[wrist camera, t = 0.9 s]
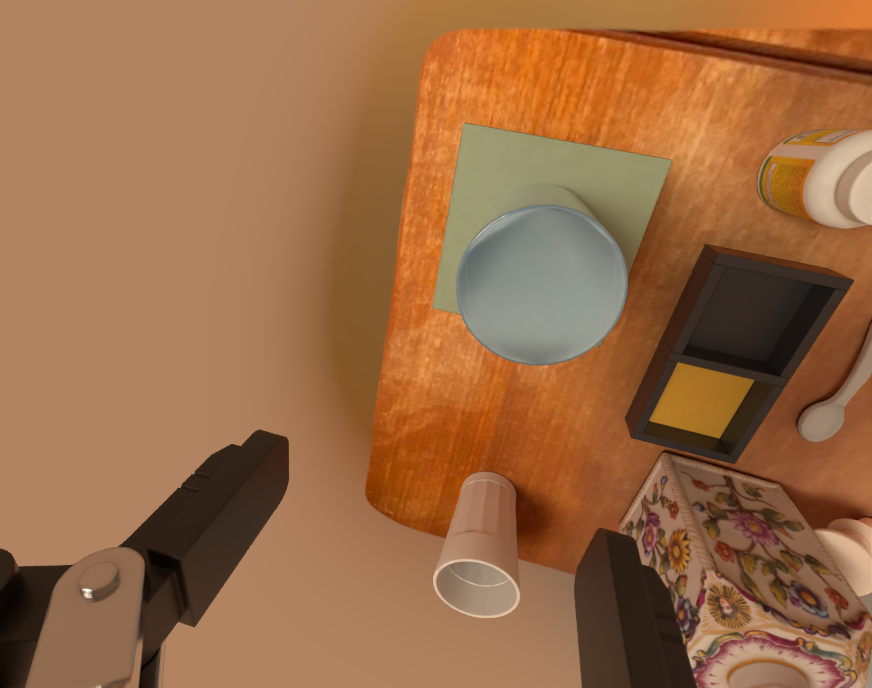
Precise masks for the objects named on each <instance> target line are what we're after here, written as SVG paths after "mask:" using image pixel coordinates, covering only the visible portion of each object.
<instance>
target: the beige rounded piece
mask: <svg viewBox="0 0 872 688" xmlns="http://www.w3.org/2000/svg"><path fill="white" fill-rule="evenodd" d="M812 530H813V531H814V533H815V534H816V536H817V537H818V539H819V540H820V541H821V543H822V545H823V546H824V547H825V549H826V551H827V552H828V553H829V555H830V556H831V558H832V559H833V560H834V562H835V563H836V565H837V567H838V568H839V570H840V571H841V573H842V574H843V575H844V576H845V578H846V580H847V581H848V583H849V584H850V585H851V587H852V588H853V590H854V591H855V593H856V594H857V595H858V596H863V595H866V594H869V593H871V592H872V519H871V518H861V519H859V520H858V521H857V520H853V519H845V518H843V519H837V520H835V521H832V522H831V523H830V524H829V525H828V527H827V529H824V528H818V529H812Z"/></svg>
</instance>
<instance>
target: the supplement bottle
mask: <svg viewBox="0 0 872 688" xmlns="http://www.w3.org/2000/svg"><path fill="white" fill-rule="evenodd" d="M757 189H758V193H759V195H760V197H761V199H762V200H763V201H764V202H765V203H766V204H767V205H768V206H769V207H771V208H773V209H775V210H778V211H781V212H784V213H787V214H790V215H793V216H796V217H800V218H803V219H806V220H809V221H812V222H815V223H818V224H822V225H825V226H828V227H833V228H841V229H849V228H857V227H862V226H865V225H872V129H846V130H810V131H805V132H801V133H798V134H795V135H793V136H791V137H789V138H787V139H785V140H784V141H782V142H781V143H779V144H778V145H777V146H776V147H775V148H774V149H773V150H772V151H771V152H770V153H769V154H768V155H767V157H766V158H765V160H764V161H763V163H762V165H761V168H760V171H759V174H758V179H757Z"/></svg>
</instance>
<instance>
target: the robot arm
mask: <svg viewBox="0 0 872 688" xmlns="http://www.w3.org/2000/svg"><path fill="white" fill-rule="evenodd" d="M288 481H289V442H288V439H287V437H284V436H280V435H277V434H273V433H270V432H266V431H263V430H257V431H255V432H254V433H253V434H252V435H251V436H250V437H249V438H248V439H247V440H246V441H245V442H244V443H243V444H242V446H238V445H234V444H231V445H229V446H227V447H225V448H223V449H221V450H220V451H218V452H216V453H214V454H212V455H211V456H210V457H209V458H208V459H207V460H206V461H205V462H204V463H203V464H202V465H201V466H200V467H199V468H198V469H197V470H196V471H195V473H194V475H193V474H192V475H191V476H190V477H189V478H188V479H187V480H186V481H185V482H184V483H183V484H182V486H181V488H178V489H177V490H176V491H175V492H174V493H173V494H172V495H171V496H170V497H169V498H168V499H167V500H166V501H165V502H164V503H163V504H162V505H161V506H160V507H159V508H158V509H157V510H156V511H155V512H154V513H153V514H152V515H151V516H150V517H149V518H148V519H147V520H146V521H145V522H144V523H143V524H142V525H141V526H140V527H139V528H138V529H137V530H136V531H135V532H134V533H133V534H132V535H131V536H130V537H129V538H128V539H127V540H126V541H124V542H123V543H122V544H121V545H119V546H118V547H113V548H108V549H104V550H101V551H98V552H95V553H93V554H90V555H88V556H86V557H85V558H83V559H81V560H80V561H78V562H77V563H75V564H74V565H60V566H22V567H18V565H17V563H16V561H15V559H14V558H13V556H12V554H11V553H9V552H8V551H6V550H3V549H0V688H163V674H164V659H165V639H166V638H167V636H168V635H169V633H170V632H171V631H172V629H173V628H174V627H175V625H176V624H177V623H178V622H180V623H184V624H186V625H189V626H192V627H195V626H196V625H197V623H198V622H199V620H200V619H201V617H202V616H203V615H204V613H205V612H206V610H207V609H208V607H209V606H210V604H211V603H212V601H213V600H214V598H215V597H216V595H217V594H218V593H219V591H220V590H221V588H222V587H223V585H224V584H225V582H226V581H227V580H228V578H229V577H230V575H231V574H232V572H233V571H234V569H235V568H236V566H237V565H238V563H239V562H240V561H241V559H242V557H243V556H244V555H245V553H246V552H247V550H248V549H249V547H250V546H251V545H252V543H253V542H254V540H255V538H256V537H257V536H258V534H259V533H260V531H261V530H262V528H263V527H264V526H265V524H266V523H267V521H268V520H269V518H270V516H271V515H272V514H273V512H274V511H275V509H276V508H277V507H278V505H279V504H280V502H281V500H282V499H283V496H284V494H285V492H286V489H287V486H288ZM574 594H575V608H576V619H577V632H578V645H579V656H580V670H581V681H582V688H697V685H696V681H695V678H694V674H693V671H692V667H691V664H690V660H689V657H688V653H687V650H686V646H685V645H683V640H684V639H683V636H682V633H681V629H680V626H679V623H677V615H676V612H675V608H674V605H673V601H672V598H671V594H670V592H669V590H668V588H667V587H666V585H665V584H664V582H663V581H662V579H661V577H660V576H659V574H658V573H657V571H656V570H655V568H653V567H650V566H646V565H643V564H642V563H641V558H640V554H639V550H638V546H637V543H636V540H635V539H634V538H633V537H632V536H628V535H625V534H621V533H618V532H614V531H611V530H607V529H604V528H599V529H598V530H597V531H596V533H595V535H594V537H593V539H592V540H591V542H590V544H589V546H588V548H587V550H586V552H585V554H584V556H583V558H582V560H581V561H580V563H579V565H578V568H577V571H576V576H575V585H574Z"/></svg>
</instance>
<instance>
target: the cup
mask: <svg viewBox="0 0 872 688" xmlns="http://www.w3.org/2000/svg"><path fill="white" fill-rule="evenodd" d="M433 584H434V588H435V590H436V592H437V594H438V596H439V597H440V598H441V599H442V600H443V601H444V602H445V603H446V604H448V605H449V606H450V607H452V608H454V609H455V610H457V611H459V612H461V613H464V614H467V615H470V616H474V617H480V618H494V617H500V616H503V615H506V614H508V613H510V612H511V611H513V610H514V609H515V608H516V607H517V605H518V603H519V600H520V585H519V568H518V556H517V531H516V491H515V488H514V486H513V485H512V483H511V482H510V481H509V480H507V479H506V478H505V477H503V476H501V475H499V474H496V473H493V472H477V473H474V474H472V475H470V476H468V477H467V478H466V479H465V481H464V482H463V484H462V489H461V493H460V497H459V500H458V503H457V506H456V509H455V512H454V515H453V519H452V522H451V525H450V528H449V531H448V534H447V537H446V541H445V544H444V547H443V550H442V553H441V556H440V559H439V562H438V565H437V568H436V571H435V574H434V577H433Z"/></svg>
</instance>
